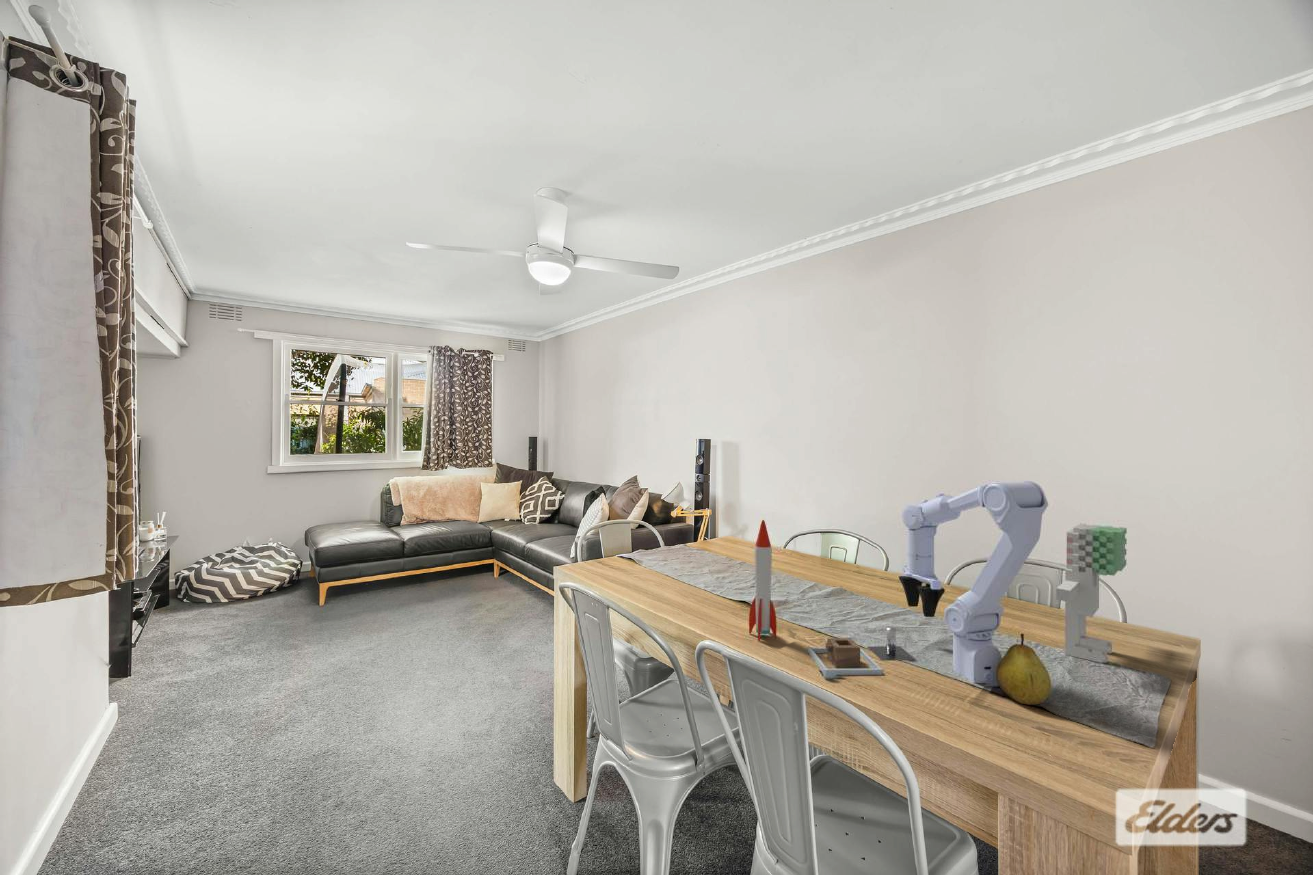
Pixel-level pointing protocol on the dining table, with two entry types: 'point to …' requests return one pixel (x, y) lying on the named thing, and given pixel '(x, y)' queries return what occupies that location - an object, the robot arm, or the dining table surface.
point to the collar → (843, 652)
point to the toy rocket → (763, 587)
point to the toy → (1088, 584)
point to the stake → (891, 648)
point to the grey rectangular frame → (833, 672)
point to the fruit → (1023, 675)
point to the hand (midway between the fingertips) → (920, 611)
